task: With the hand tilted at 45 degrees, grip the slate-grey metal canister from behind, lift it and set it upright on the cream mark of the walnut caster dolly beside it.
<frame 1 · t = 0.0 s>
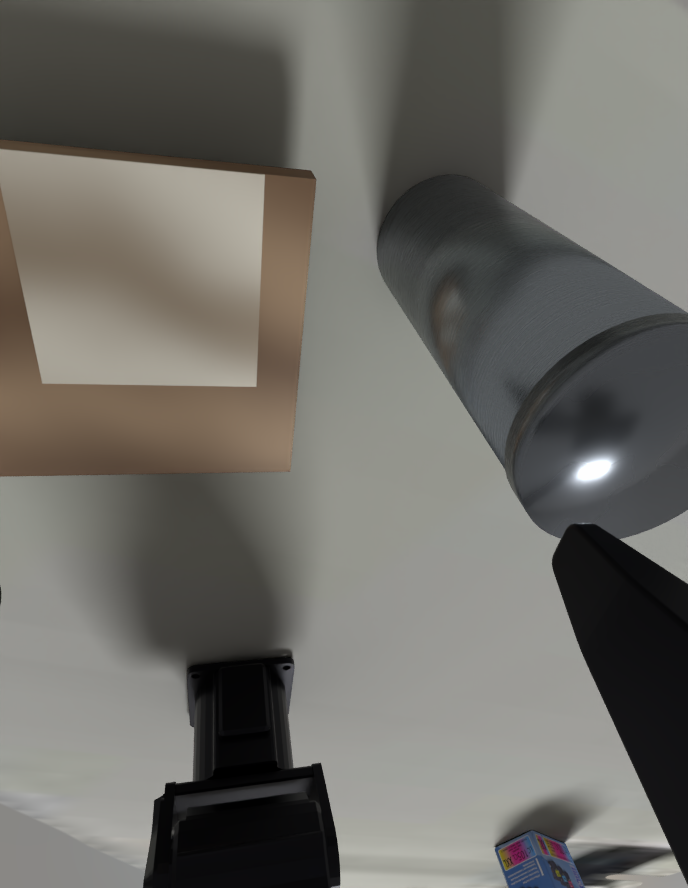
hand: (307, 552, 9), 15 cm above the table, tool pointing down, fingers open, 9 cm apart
dolly: (138, 326, 20), point 2 cm above the table, slide at 0.0 cm
ink cartridge box: (530, 842, 68), on the table
canister: (441, 245, 22), on the table
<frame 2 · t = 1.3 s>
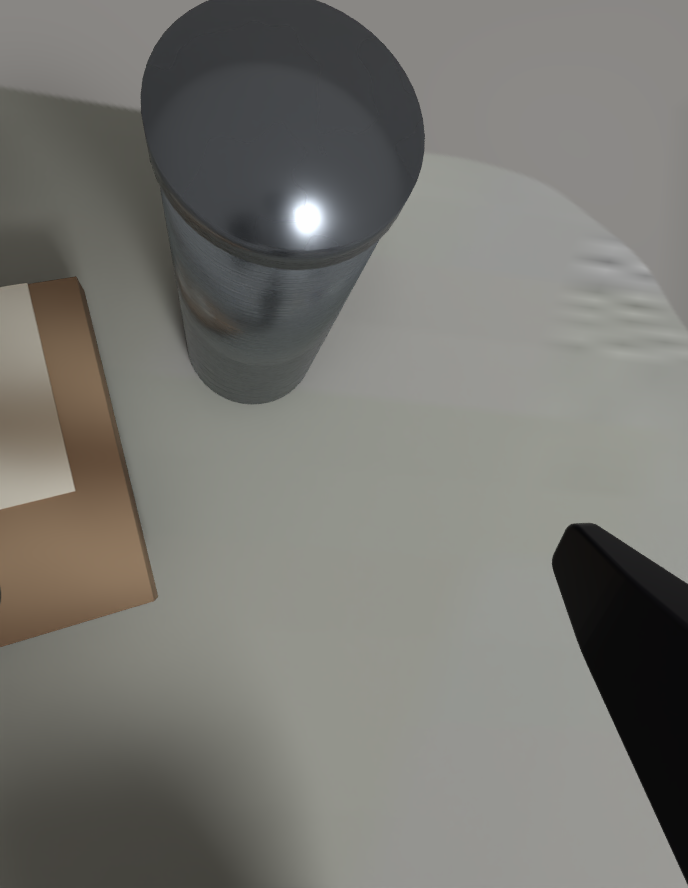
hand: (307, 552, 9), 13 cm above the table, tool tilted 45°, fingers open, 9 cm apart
canister: (251, 343, 23), on the table
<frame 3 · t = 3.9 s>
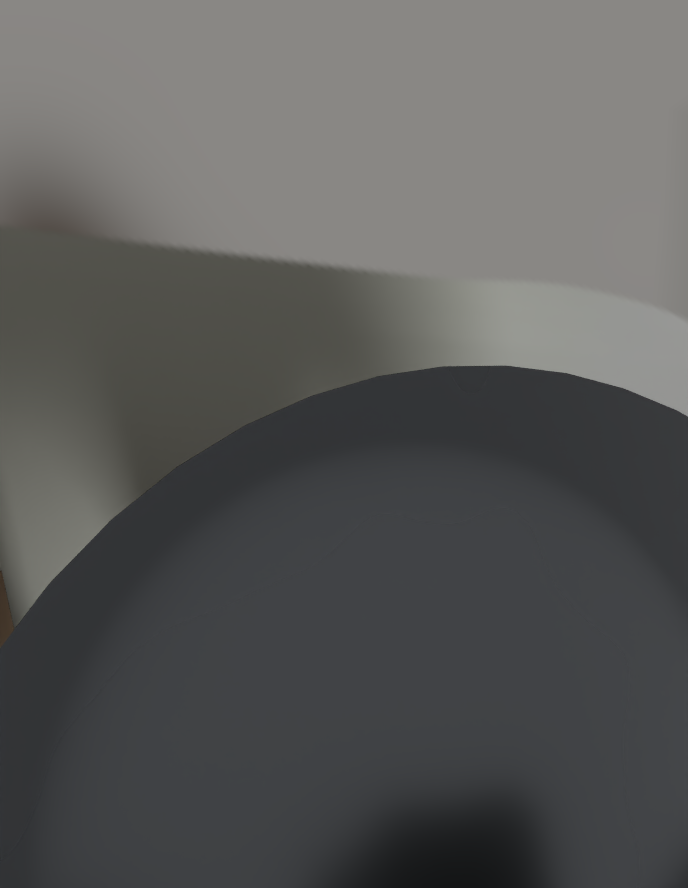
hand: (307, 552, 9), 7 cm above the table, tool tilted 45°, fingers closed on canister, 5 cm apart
canister: (271, 597, 15), on the table, touching gripper
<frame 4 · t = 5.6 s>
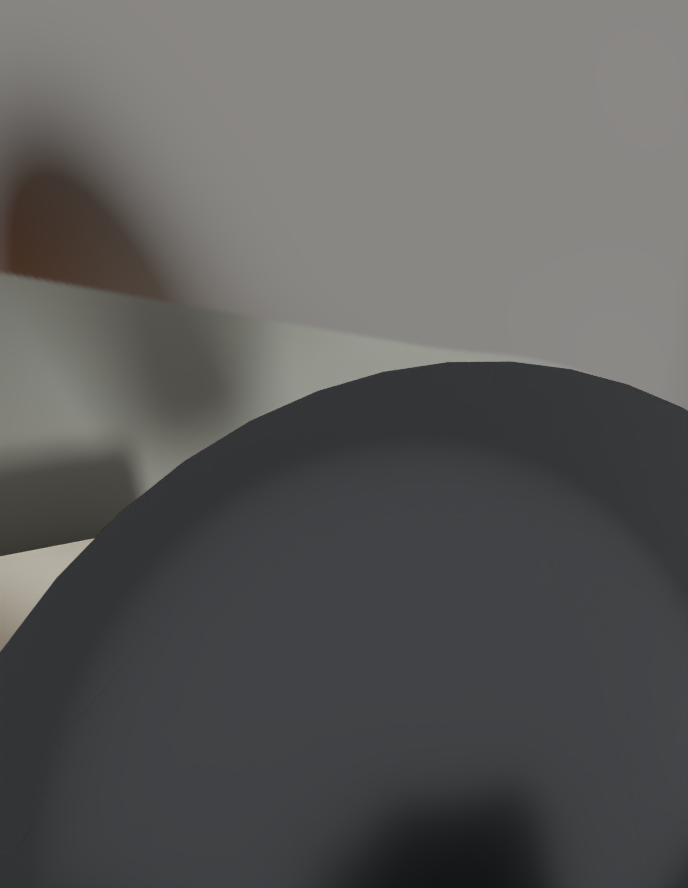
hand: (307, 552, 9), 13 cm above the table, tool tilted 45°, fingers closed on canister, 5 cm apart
canister: (272, 596, 15), point 7 cm above the table, touching gripper
when the fingers open (11 cm above the table, at t = 7.1 s): canister drops 1 cm, resting on dolly.
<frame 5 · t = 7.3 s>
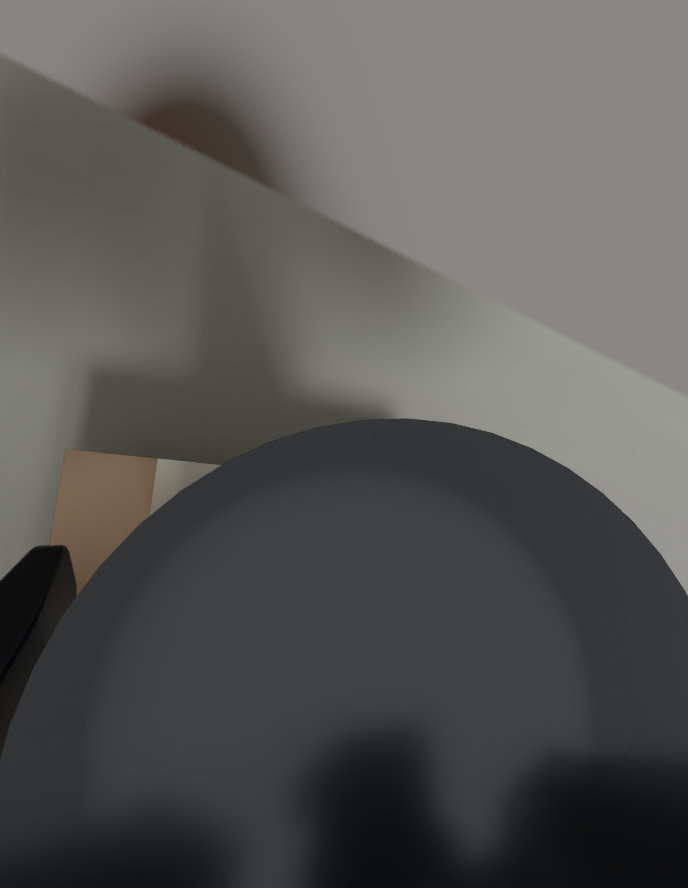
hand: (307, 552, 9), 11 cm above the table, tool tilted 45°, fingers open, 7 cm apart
dolly: (239, 652, 17), point 2 cm above the table, slide at 0.0 cm, touching canister
canister: (265, 593, 16), point 3 cm above the table, touching dolly
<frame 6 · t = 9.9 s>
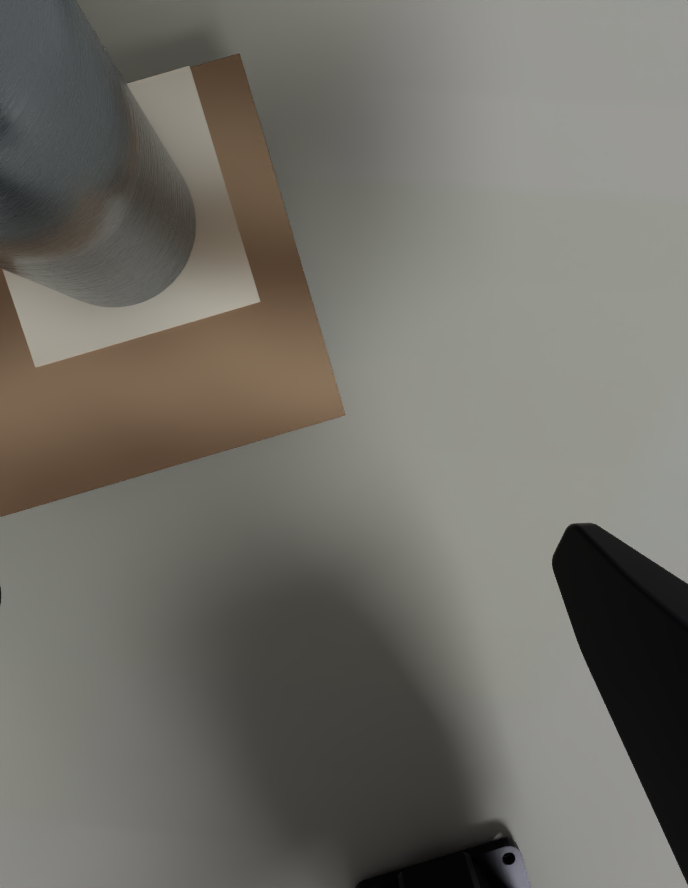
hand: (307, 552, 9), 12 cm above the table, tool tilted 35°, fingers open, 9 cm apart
dolly: (132, 298, 18), point 2 cm above the table, slide at 0.0 cm, touching canister
canister: (110, 220, 17), point 3 cm above the table, touching dolly
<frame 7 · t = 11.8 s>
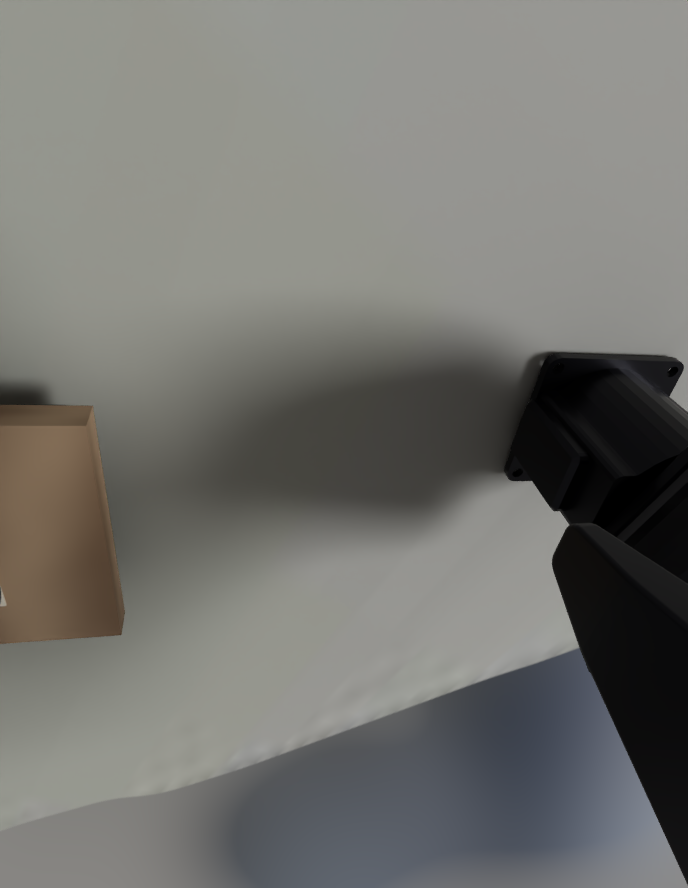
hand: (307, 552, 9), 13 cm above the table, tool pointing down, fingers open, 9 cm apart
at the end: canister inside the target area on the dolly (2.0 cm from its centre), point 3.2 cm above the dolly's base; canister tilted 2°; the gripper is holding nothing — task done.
